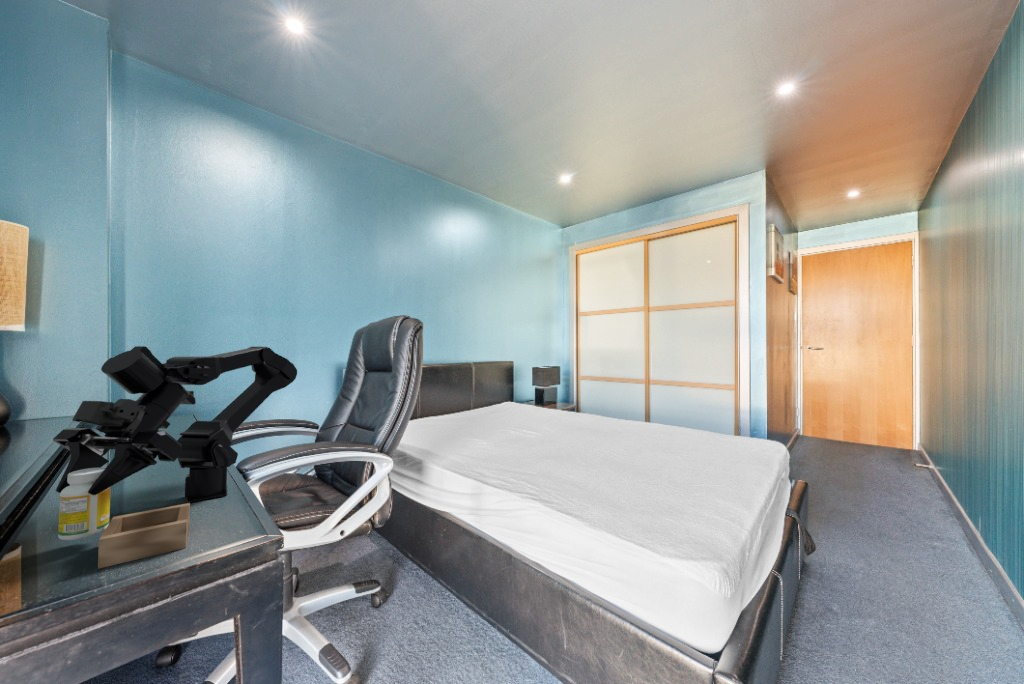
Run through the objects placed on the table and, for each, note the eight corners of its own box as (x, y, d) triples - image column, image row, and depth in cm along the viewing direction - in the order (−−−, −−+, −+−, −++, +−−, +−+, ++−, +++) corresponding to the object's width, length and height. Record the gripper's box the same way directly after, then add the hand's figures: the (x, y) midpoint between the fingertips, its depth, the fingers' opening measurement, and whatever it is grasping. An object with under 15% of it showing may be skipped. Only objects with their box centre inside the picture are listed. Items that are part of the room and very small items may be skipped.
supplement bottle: (66, 544, 56) (68, 478, 56) (51, 536, 58) (53, 473, 58) (116, 528, 61) (117, 468, 61) (100, 522, 63) (102, 464, 63)
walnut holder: (189, 525, 66) (190, 502, 67) (185, 547, 59) (186, 521, 59) (112, 542, 61) (113, 516, 61) (97, 568, 53) (98, 539, 53)
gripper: (69, 380, 65) (-32, 465, 54) (167, 382, 63) (83, 470, 52) (120, 418, 73) (41, 499, 61) (208, 421, 71) (143, 504, 59)
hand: (74, 493), depth 58 cm, fingers closed on supplement bottle, 5 cm apart
